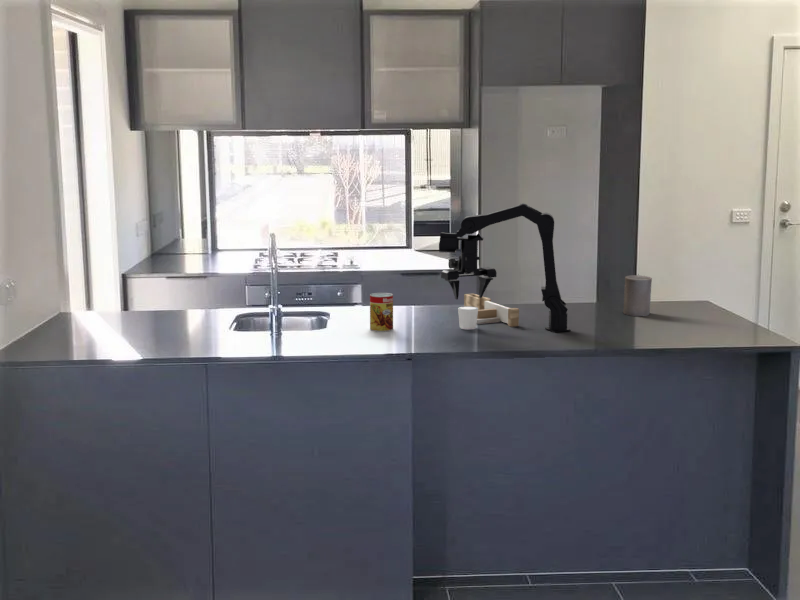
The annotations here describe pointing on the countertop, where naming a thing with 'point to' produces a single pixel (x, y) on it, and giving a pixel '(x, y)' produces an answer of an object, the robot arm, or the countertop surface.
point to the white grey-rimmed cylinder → (468, 317)
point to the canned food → (381, 311)
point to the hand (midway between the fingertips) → (468, 298)
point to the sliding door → (493, 311)
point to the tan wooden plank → (478, 302)
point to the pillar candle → (637, 295)
